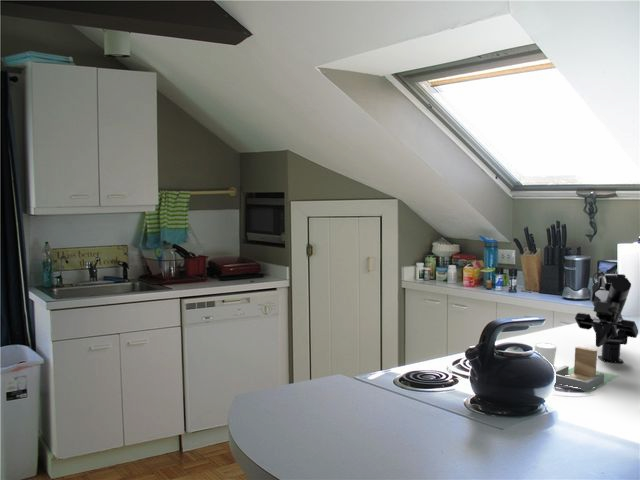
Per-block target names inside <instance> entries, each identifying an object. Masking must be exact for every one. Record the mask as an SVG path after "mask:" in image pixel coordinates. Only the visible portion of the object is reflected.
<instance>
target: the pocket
mask: <svg viewBox="0 0 640 480" xmlns="http://www.w3.org/2000/svg"><path fill="white" fill-rule="evenodd" d="M569 369H570V368H569V365H563V366H561V367H559V368H557V369H554V370H555V372H556V384H555V385H557V384H562V385H568V386H573V387H578V388H581V389H583V390H585V391H584V392H586V391H588V390H590V389H592V388H593V387H596V386H598V385H600V384H601V383H603V382H604V374H602V373H600V374H598V375H596V376H594V377H592V378H590V379H588V380H586V381H584V380H580V379H575V378H571V377H567V376H565V375H567V374H568V370H569Z"/></svg>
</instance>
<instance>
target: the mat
mask: <svg viewBox="0 0 640 480" xmlns="http://www.w3.org/2000/svg"><path fill="white" fill-rule="evenodd" d="M600 373H602V374H604V382H603V383H601V384H600V385H598V386H596V387H595V388H594V389H590V390H588V391H585V390H583V391H584V392H586V393H591V392H592V391H594V390H597V389H598V388H599V387H601V386H603V385H605V384H607V383H609V382H611V381H613V380H615V379H617V378H618V377H619V375H618V374H614V373H608V372H603V371H598V370H596V375H598V374H600ZM572 374H574V366H573V367H571V368H569V370H568V374H567V375H572ZM556 385H557V386H560V385H559V384H556Z"/></svg>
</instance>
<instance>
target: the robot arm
mask: <svg viewBox="0 0 640 480" xmlns="http://www.w3.org/2000/svg"><path fill="white" fill-rule="evenodd" d="M597 278H598V280H597V281H596V282H595V283H594V284H593V285H592V286H591V291H590V302H592V305H593V312H594V313H595V316H596V317H593V318H592V317H591V315H590V313H586V312H585V313H584V312H577V313H576V315H575V317H574V320H575V321H576V324H577V326H578V328H580V329H583V330H587V331H588V330H591V329H593V331H594V333H595V346H596V347H597V348H600V347H601V355H597V359H600V360H601V361H602V362H604V363H616V364H617V363H619V364H620V363H621V364H623V363H624V360H623V359H622V358H621V345H627V344H628V339H629V338H633V339H634V338H635V339H636V338H637V336H638V335H639V328H638V326H637V324H636V322H635V321H634V320H629V319H624V318H623V317H622V316H623V315H622V312H623V310H624V307H625V304H626V301H627V299H628V298H627V297H628V296H629V293H630V290H631V288H632V283H631V281H630V280H629V279H628V277H626V274H621V273H619V274H618V273H605V274H604V275H599V276H598V277H597ZM601 288H602V289H601Z"/></svg>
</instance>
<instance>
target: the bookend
mask: <svg viewBox="0 0 640 480" xmlns="http://www.w3.org/2000/svg"><path fill="white" fill-rule="evenodd" d="M574 350H575V351H574V364H573V365H574V366H573V367H574V374H572V375H570V376H567V377H571V378H575V379H580V380H584V381H586V380H588V379H590V378H592V377H594V376H596V371H597V359H598V350H597V349H593V348H588V347H583V346H576V347H574Z"/></svg>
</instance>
